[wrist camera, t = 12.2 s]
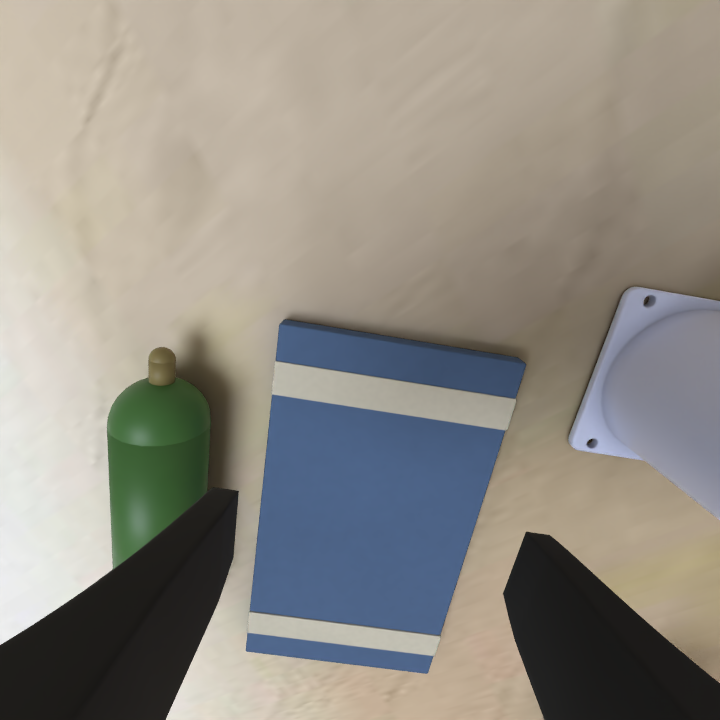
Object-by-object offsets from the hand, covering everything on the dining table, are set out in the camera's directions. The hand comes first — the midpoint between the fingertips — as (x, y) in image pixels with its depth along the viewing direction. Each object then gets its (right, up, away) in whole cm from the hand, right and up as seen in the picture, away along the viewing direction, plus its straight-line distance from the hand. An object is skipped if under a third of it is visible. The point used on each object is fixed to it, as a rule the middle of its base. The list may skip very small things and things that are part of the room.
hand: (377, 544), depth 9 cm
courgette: (-11, -2, +11) cm, 15 cm away
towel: (0, -4, +11) cm, 12 cm away
